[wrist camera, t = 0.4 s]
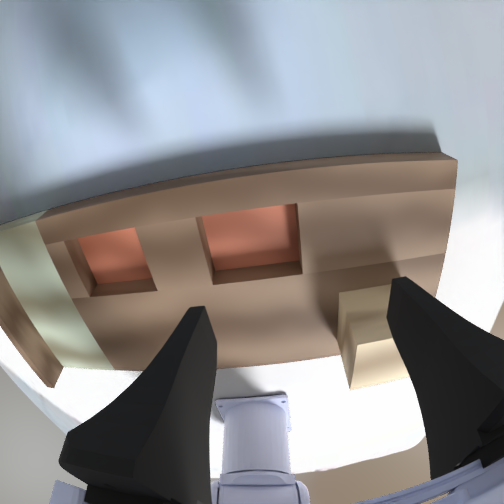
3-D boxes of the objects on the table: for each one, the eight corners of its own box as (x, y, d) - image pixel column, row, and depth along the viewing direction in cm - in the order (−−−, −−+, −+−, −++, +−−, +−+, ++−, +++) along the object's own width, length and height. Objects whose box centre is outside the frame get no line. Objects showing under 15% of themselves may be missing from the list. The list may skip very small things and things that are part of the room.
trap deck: (415, 322, 25) (435, 361, 21) (63, 353, 28) (47, 387, 24) (442, 152, 17) (485, 175, 13) (-7, 227, 20) (-40, 256, 16)
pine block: (393, 329, 23) (413, 375, 19) (336, 340, 23) (350, 390, 19) (402, 282, 20) (430, 328, 16) (339, 292, 21) (357, 345, 16)
